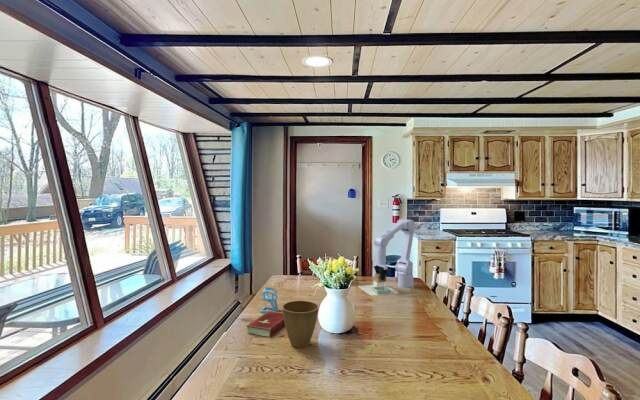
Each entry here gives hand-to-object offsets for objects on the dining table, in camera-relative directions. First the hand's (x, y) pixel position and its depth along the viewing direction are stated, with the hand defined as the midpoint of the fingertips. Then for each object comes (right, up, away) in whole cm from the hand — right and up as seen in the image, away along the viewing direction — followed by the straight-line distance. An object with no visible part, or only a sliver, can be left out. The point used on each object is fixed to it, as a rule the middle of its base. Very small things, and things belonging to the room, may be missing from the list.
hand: (380, 278), depth 232 cm
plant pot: (-45, -12, -75) cm, 88 cm away
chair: (-63, -10, -33) cm, 72 cm away
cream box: (+1, -8, +13) cm, 15 cm away
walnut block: (0, -1, 0) cm, 1 cm away
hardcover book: (-60, -11, -56) cm, 83 cm away
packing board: (-1, -9, +6) cm, 11 cm away
